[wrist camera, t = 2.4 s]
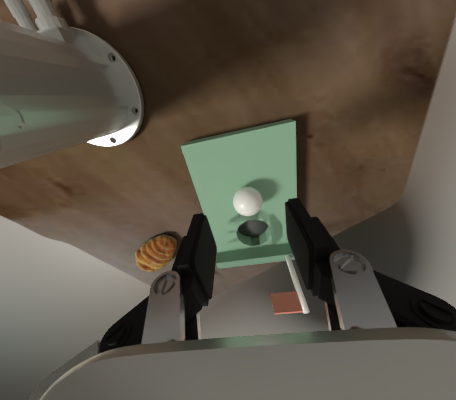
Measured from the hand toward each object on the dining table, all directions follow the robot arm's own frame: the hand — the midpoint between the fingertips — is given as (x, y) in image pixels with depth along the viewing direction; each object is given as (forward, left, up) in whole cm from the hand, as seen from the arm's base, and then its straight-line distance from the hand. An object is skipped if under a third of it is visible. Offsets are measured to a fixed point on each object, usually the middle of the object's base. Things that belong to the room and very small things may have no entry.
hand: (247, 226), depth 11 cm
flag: (+18, +3, -17) cm, 25 cm away
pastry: (+17, -20, -18) cm, 32 cm away
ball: (+6, 0, -13) cm, 14 cm away
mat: (+8, 0, -17) cm, 19 cm away
